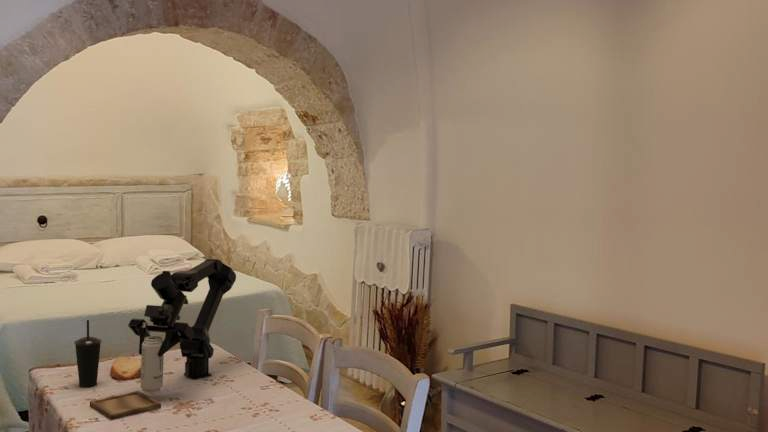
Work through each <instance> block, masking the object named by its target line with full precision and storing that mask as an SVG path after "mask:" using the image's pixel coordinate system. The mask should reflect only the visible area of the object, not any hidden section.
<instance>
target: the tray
mask: <svg viewBox="0 0 768 432" xmlns="http://www.w3.org/2000/svg"><path fill="white" fill-rule="evenodd" d="M89 407H90V408H91V409H93V410H95V411H96V412H97V413H99V414H101V415H103V416H104V417H106V418H107V419H109V420H110V421H113V420H117V419H121V418H125V417H129V416H134V415H139V414H143V413H147V412H150V411H155V410H159V409H162V402H160V401H158V400H156V399H154V398H153V397H151V396H149V395H147V394H145V393H143V392H142V391H140V390H136V391H132V392H126V393H120V394H116V395H113V396H108V397H102V398H98V399H93V400H90V401H89Z"/></svg>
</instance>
